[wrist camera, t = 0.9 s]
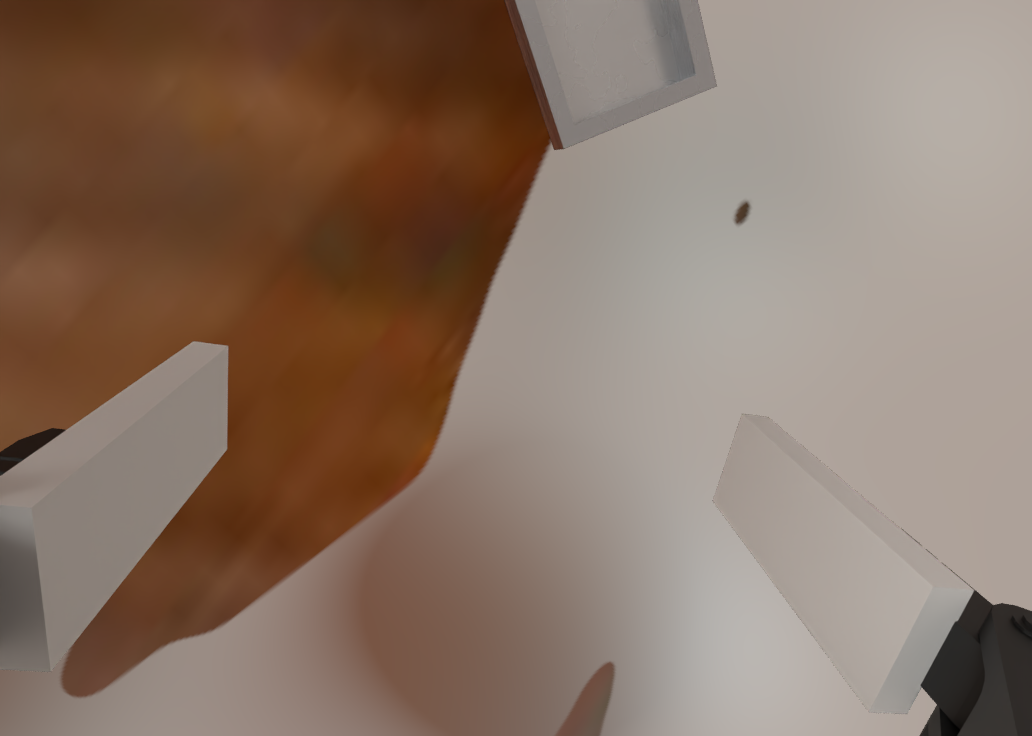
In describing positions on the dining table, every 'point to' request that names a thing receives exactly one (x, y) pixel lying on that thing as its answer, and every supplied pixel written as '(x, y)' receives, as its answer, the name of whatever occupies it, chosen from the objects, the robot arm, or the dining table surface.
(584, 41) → the gray tray
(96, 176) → the dining table surface
